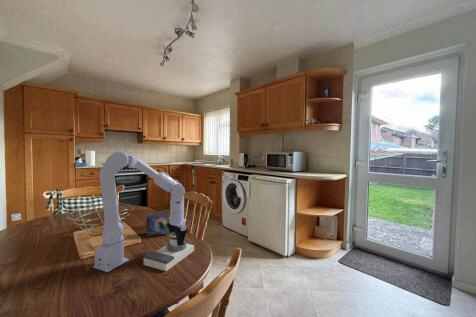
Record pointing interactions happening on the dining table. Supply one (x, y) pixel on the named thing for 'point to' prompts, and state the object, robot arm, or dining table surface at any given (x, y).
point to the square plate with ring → (167, 256)
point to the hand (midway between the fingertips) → (176, 242)
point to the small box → (157, 224)
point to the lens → (173, 240)
